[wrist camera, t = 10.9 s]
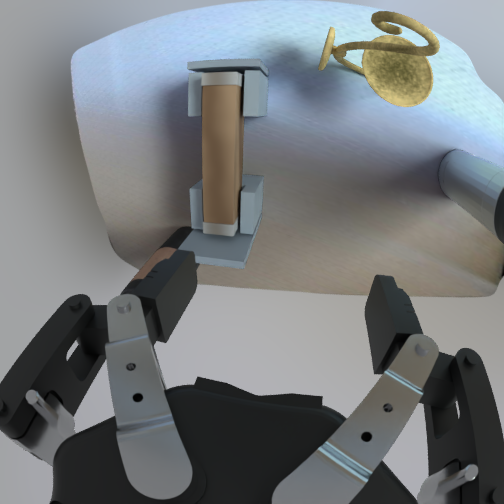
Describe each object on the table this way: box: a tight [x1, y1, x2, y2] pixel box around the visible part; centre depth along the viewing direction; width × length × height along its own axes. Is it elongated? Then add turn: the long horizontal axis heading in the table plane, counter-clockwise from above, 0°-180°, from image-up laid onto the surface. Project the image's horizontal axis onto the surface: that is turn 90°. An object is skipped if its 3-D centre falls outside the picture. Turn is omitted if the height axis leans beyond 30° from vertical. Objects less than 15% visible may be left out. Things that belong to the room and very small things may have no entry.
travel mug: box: [120, 227, 200, 295], centre depth 43 cm, size 8×8×20 cm
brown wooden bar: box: [201, 72, 245, 236], centre depth 34 cm, size 4×21×6 cm, turn 177°
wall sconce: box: [318, 11, 440, 107], centre depth 21 cm, size 14×10×25 cm
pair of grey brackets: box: [178, 59, 269, 269], centre depth 34 cm, size 9×25×16 cm, turn 178°
